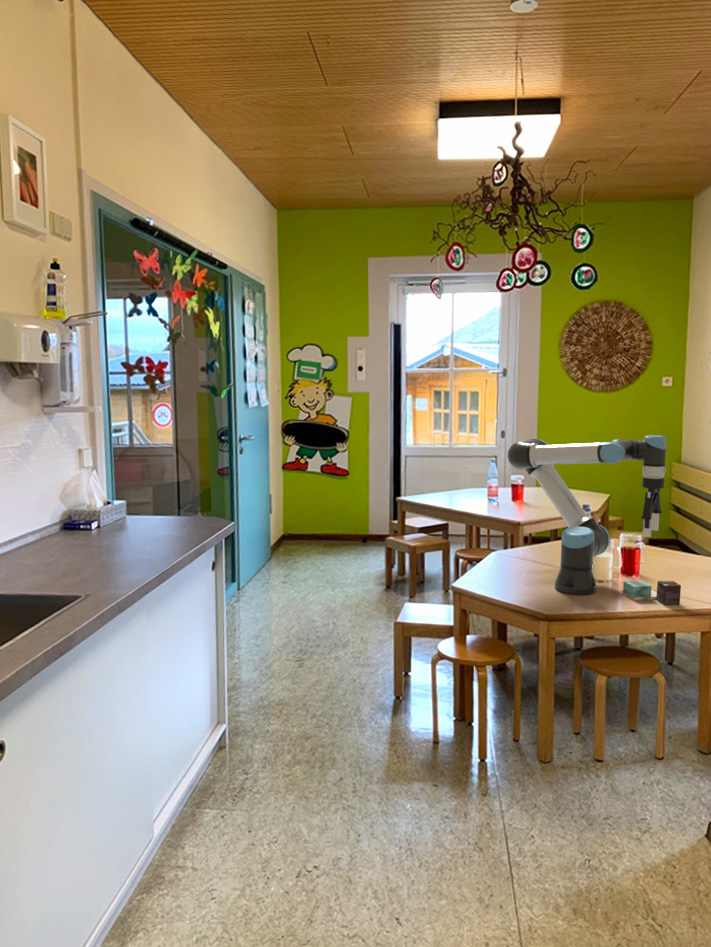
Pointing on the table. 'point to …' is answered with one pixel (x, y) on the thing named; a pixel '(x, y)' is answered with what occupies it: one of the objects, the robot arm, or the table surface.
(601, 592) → the table surface
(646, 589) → the teal and cream block
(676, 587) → the box
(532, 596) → the table surface
